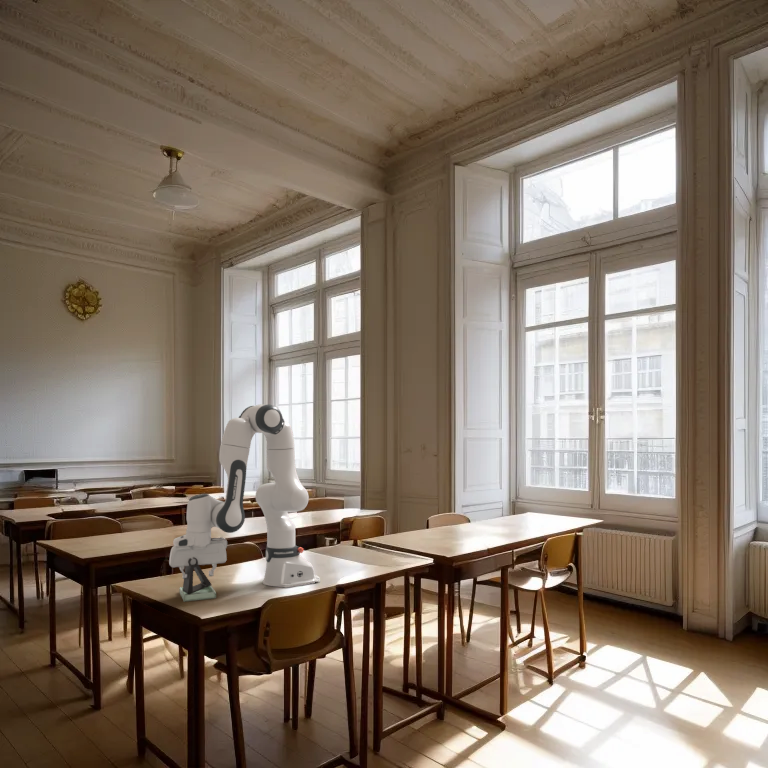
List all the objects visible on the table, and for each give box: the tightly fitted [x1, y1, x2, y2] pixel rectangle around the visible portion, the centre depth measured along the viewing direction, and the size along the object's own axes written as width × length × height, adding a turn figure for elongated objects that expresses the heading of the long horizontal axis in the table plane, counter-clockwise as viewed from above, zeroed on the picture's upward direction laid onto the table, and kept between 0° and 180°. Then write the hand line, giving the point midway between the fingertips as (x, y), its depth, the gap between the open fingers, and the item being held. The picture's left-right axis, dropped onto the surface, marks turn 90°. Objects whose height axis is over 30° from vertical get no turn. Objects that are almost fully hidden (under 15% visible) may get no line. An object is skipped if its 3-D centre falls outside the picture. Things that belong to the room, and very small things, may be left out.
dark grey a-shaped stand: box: [182, 557, 212, 595], centre depth 235 cm, size 9×6×12 cm, turn 125°
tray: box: [179, 585, 217, 603], centre depth 235 cm, size 11×13×2 cm
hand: (198, 577), depth 235 cm, fingers open, 8 cm apart
